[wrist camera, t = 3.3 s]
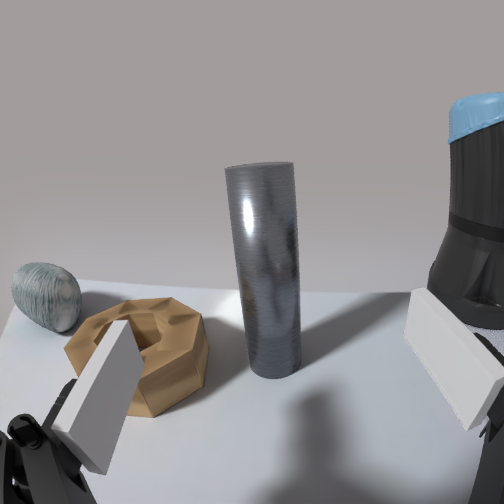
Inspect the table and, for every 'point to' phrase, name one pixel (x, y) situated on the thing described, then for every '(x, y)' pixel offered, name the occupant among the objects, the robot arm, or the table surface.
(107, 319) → the brown thick faceted ring
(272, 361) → the rod
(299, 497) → the table surface
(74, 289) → the grey yarn skein
